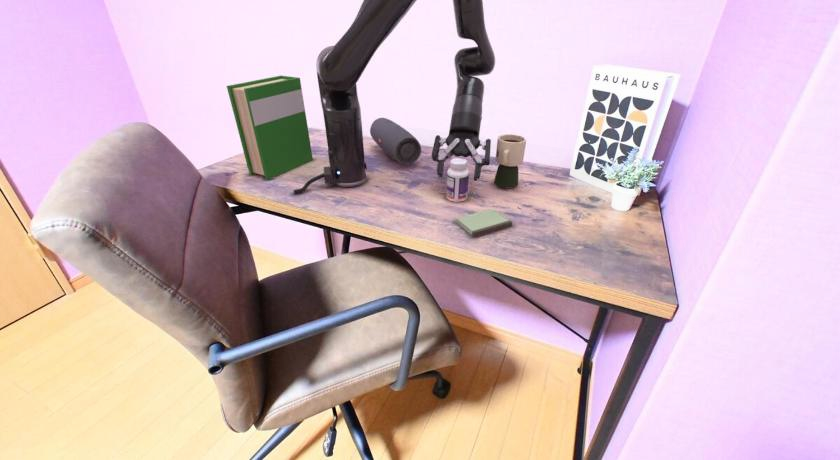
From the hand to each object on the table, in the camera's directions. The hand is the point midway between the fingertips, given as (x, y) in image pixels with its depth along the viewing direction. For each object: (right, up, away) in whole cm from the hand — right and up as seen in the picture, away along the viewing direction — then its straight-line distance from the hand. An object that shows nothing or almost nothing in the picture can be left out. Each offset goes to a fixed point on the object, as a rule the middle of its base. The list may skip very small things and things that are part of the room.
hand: (457, 178), depth 90 cm
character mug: (+14, -1, +10) cm, 17 cm away
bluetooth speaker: (-17, +11, +28) cm, 35 cm away
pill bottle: (0, -4, +4) cm, 6 cm away
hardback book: (-50, +6, +21) cm, 55 cm away
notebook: (+5, -11, -8) cm, 15 cm away
